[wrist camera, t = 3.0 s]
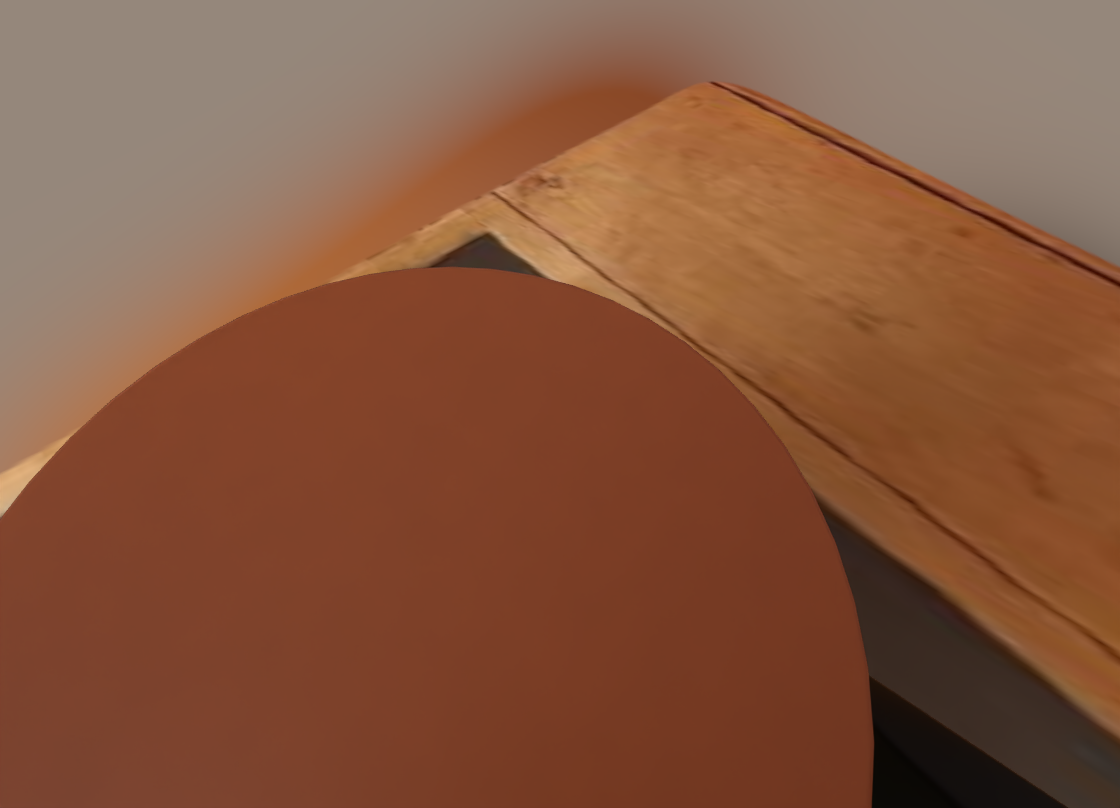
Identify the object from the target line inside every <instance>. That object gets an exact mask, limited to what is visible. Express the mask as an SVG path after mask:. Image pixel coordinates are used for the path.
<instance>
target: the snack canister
mask: <svg viewBox="0 0 1120 808" xmlns="http://www.w3.org/2000/svg"><path fill="white" fill-rule="evenodd" d="M873 759H874V735H873V723H872V710H871V698H870V685H869V672H868V665H867V660H866V655H865V650H864V645H863V640H862V635H861V630H860V625H859V620H858V615H857V610H856V605H855V601H854V598H853V595H852V592H851V589H850V586H849V582H848V579H847V576H846V573H845V570H844V567H843V564H842V561H841V558H840V555H839V552H838V548H837V545H836V542H835V540H834V538H833V536H832V534H831V531H830V529H829V527H828V525H827V523H826V521H825V518H824V516H823V514H822V512H821V510H820V507H819V505H818V503H817V501H816V499H815V496H814V494H813V492H812V490H811V488H810V487H809V485H808V483H807V482H806V480H805V478H804V477H803V475H802V473H801V472H800V470H799V468H798V467H797V465H796V464H795V462H794V460H793V459H792V457H791V455H790V454H789V452H788V450H787V449H786V447H785V445H784V444H783V443H782V441H781V440H780V439H779V437H778V436H777V435H776V434H775V432H774V431H773V430H772V428H771V427H770V426H769V424H768V423H767V422H766V421H765V419H764V418H763V417H762V415H761V414H760V413H759V412H758V410H757V409H756V408H755V406H754V405H753V404H752V403H751V402H750V401H749V400H748V399H747V398H746V397H745V396H744V395H743V394H742V393H741V392H740V391H739V390H738V389H737V388H736V387H735V386H734V384H733V383H732V382H731V381H730V380H729V379H728V378H727V377H726V376H725V375H724V374H723V373H722V372H721V371H720V370H719V369H717V368H716V367H715V366H714V365H712V364H711V363H710V362H709V361H708V360H706V359H705V358H704V357H703V356H701V355H700V354H699V353H698V352H697V351H695V350H694V349H693V348H692V347H690V346H689V345H688V344H687V343H686V342H684V341H683V340H681V339H679V338H678V337H676V336H675V335H673V334H672V333H670V332H669V331H667V330H666V329H664V328H662V327H661V326H659V325H658V324H656V323H655V322H653V321H652V320H650V319H648V318H646V317H644V316H642V315H640V314H638V313H636V312H634V311H632V310H630V309H628V308H626V307H624V306H622V305H621V304H619V303H617V302H615V301H613V300H610V299H608V298H605V297H602V296H600V295H597V294H594V293H592V292H589V291H586V290H584V289H581V288H578V287H576V286H573V285H569V284H565V283H561V282H558V281H554V280H550V279H546V278H542V277H538V276H534V275H529V274H522V273H516V272H509V271H503V270H496V269H483V268H465V267H437V268H413V269H404V270H397V271H390V272H382V273H375V274H368V275H364V276H360V277H355V278H351V279H346V280H342V281H338V282H333V283H329V284H325V285H322V286H319V287H316V288H313V289H310V290H307V291H304V292H301V293H298V294H295V295H291V296H288V297H286V298H283V299H281V300H278V301H276V302H273V303H271V304H269V305H267V306H264V307H262V308H259V309H257V310H254V311H252V312H250V313H247V314H245V315H243V316H241V317H239V318H237V319H235V320H233V321H231V322H229V323H227V324H226V325H223V326H222V327H220V328H218V329H216V330H214V331H212V332H210V333H208V334H206V335H205V336H203V337H201V338H199V339H198V340H196V341H194V342H193V343H191V344H189V345H188V346H186V347H185V348H183V349H182V350H180V351H179V352H177V353H176V354H174V355H172V356H171V357H169V358H168V359H166V360H165V361H163V362H161V363H160V364H158V365H157V366H155V367H154V368H153V369H151V370H150V371H149V372H147V373H146V374H145V375H143V376H142V377H141V378H139V379H138V380H137V381H136V382H134V383H133V384H132V385H130V386H129V387H128V388H126V389H125V390H124V391H123V392H121V393H120V394H119V395H117V396H116V397H115V398H114V399H112V400H111V401H110V402H109V403H108V404H107V405H106V406H105V407H103V408H102V409H101V410H100V411H99V412H98V413H97V414H96V415H95V416H94V417H92V418H91V419H90V420H89V421H88V422H87V423H86V424H85V425H84V426H82V427H81V428H80V429H79V430H78V431H77V432H76V433H75V434H74V435H73V436H72V437H70V438H69V439H68V441H67V442H66V443H65V444H64V445H63V446H62V447H61V448H60V449H59V450H58V451H57V452H56V454H55V455H54V456H53V457H52V458H51V459H50V460H49V461H48V462H47V463H46V464H45V465H44V467H43V468H42V469H41V470H40V471H39V472H38V473H37V474H36V475H35V476H34V477H33V478H32V479H31V481H30V482H29V483H28V484H27V485H26V487H25V488H24V489H23V490H22V492H21V493H20V494H19V496H18V497H17V498H16V499H15V501H14V502H13V503H12V505H11V506H10V507H9V509H8V510H7V511H6V512H5V514H4V515H3V516H2V518H1V519H0V808H872V785H873Z"/></svg>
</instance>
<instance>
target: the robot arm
mask: <svg viewBox="0 0 1120 808" xmlns="http://www.w3.org/2000/svg"><path fill="white" fill-rule="evenodd" d="M869 685H870V698H871V710H872V723H873V735H874V759H873V785H872V808H1068V807H1066V806H1065V805H1063V804H1062V803H1060V802H1059V801H1057V800H1056V799H1054V798H1053V797H1051V796H1050V795H1048V794H1047V793H1045V792H1044V791H1042V790H1041V789H1039V788H1038V787H1036V786H1035V785H1033V784H1032V783H1030V782H1029V781H1027V780H1026V779H1024V778H1023V777H1021V776H1020V775H1018V774H1017V773H1015V772H1014V771H1012V770H1011V769H1009V768H1008V767H1006V766H1005V765H1003V764H1002V763H1000V762H999V761H997V760H996V759H994V758H993V757H991V756H990V755H988V754H987V753H985V752H984V751H982V750H981V749H979V748H978V747H976V746H975V745H973V744H972V743H970V742H969V741H967V740H966V739H964V738H963V737H961V736H960V735H958V734H957V733H955V732H954V731H952V730H951V729H949V728H948V727H946V726H944V725H943V724H941V723H940V722H938V721H937V720H935V719H934V718H932V717H931V716H929V715H928V714H926V713H925V712H923V711H922V710H920V709H919V708H917V707H916V706H914V705H913V704H911V703H910V702H908V701H907V700H905V699H904V698H902V697H901V696H899V695H898V694H896V693H895V692H893V691H892V690H890V689H889V688H887V687H886V686H884V685H883V684H881V683H880V682H878V681H877V680H875V679H874V678H872V677H871V676H869Z"/></svg>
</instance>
